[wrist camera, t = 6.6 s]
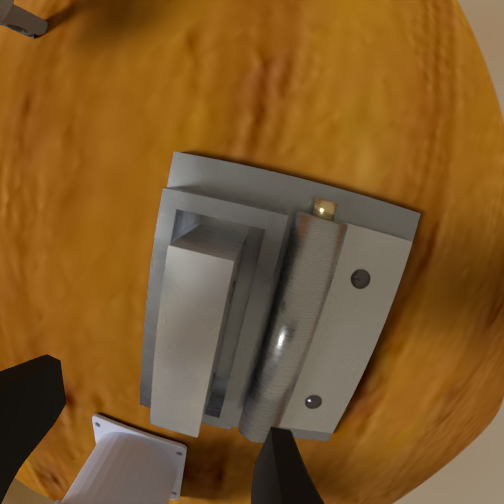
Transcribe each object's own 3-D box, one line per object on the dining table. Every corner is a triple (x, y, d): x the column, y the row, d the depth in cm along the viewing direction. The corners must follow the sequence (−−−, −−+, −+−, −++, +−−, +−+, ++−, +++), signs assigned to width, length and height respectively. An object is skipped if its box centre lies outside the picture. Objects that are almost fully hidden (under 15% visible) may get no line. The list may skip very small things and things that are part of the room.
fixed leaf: (326, 433, 19) (331, 466, 16) (146, 394, 20) (130, 423, 17) (414, 211, 16) (441, 220, 12) (178, 152, 16) (157, 147, 13)
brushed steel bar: (216, 380, 18) (199, 438, 13) (176, 369, 18) (149, 423, 13) (248, 235, 16) (236, 261, 11) (200, 224, 16) (168, 245, 11)
